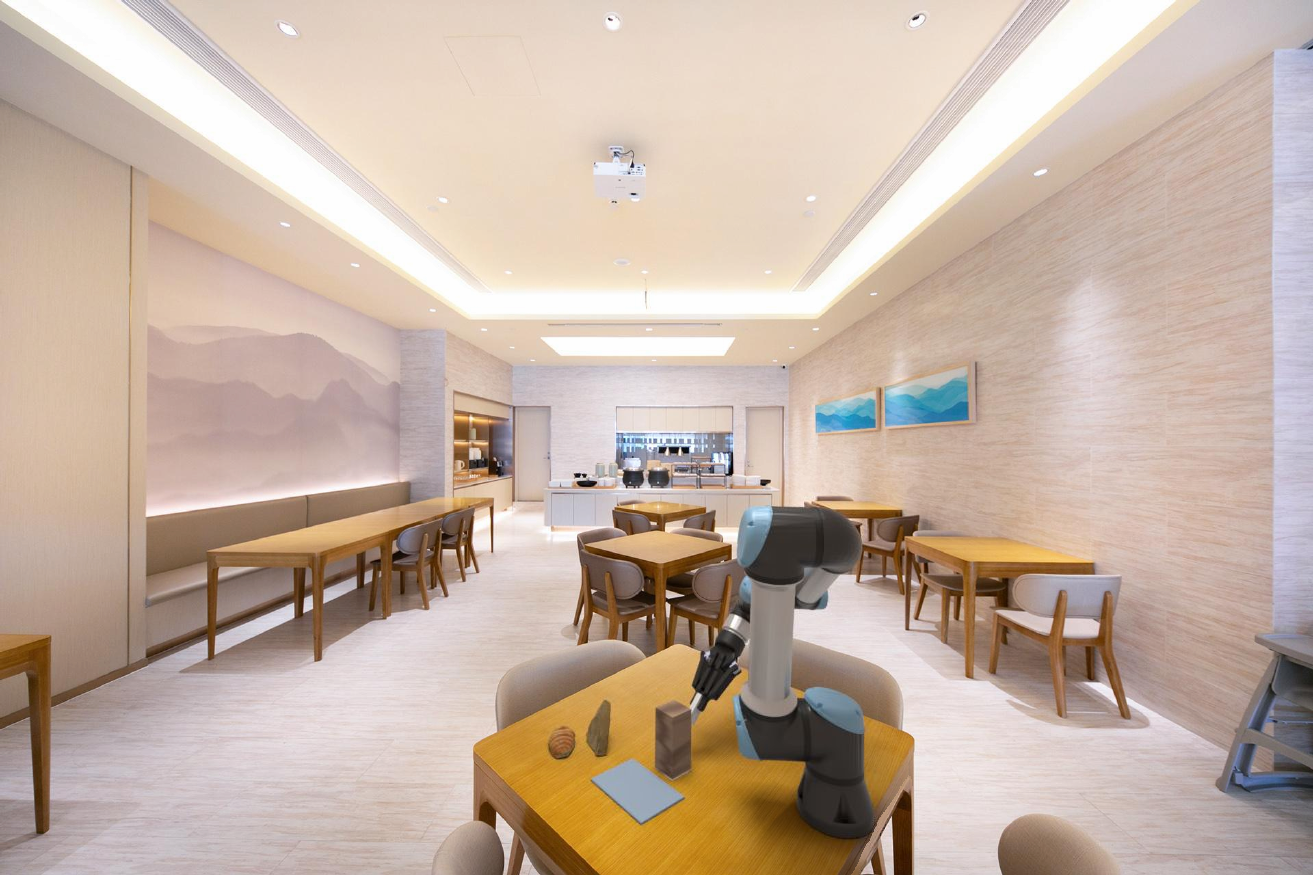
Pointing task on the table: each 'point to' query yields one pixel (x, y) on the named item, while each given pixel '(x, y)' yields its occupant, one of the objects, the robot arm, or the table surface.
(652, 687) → the table surface
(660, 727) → the walnut block
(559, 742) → the pastry
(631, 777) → the mat
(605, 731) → the rock
